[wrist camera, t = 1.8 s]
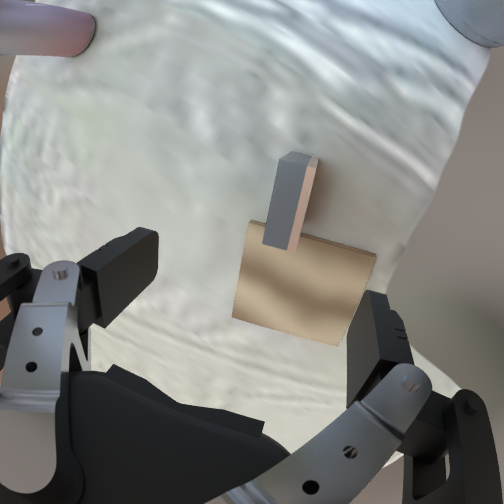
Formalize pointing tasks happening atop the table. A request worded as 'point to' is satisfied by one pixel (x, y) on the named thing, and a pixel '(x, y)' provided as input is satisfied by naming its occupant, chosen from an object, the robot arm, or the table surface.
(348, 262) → the tan wavy tile
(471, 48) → the table surface
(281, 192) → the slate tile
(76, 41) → the beverage can
